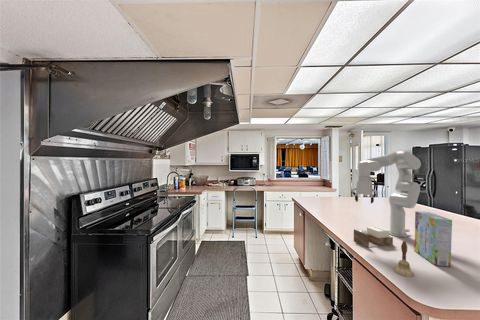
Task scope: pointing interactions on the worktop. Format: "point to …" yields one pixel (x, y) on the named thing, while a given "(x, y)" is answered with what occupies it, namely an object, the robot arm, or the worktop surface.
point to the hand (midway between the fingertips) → (364, 202)
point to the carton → (378, 232)
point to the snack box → (433, 238)
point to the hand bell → (403, 263)
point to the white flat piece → (362, 231)
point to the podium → (371, 239)
